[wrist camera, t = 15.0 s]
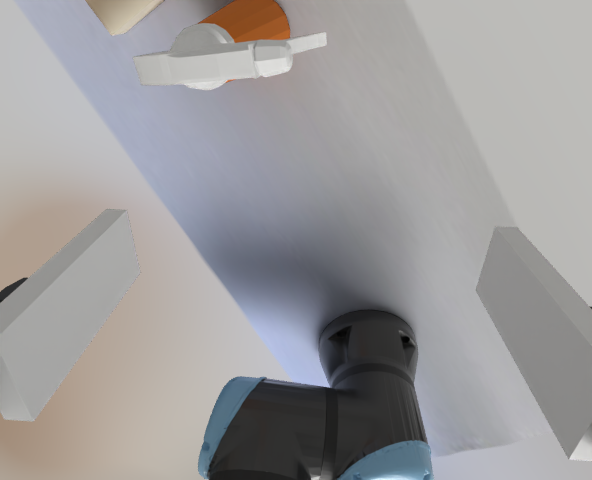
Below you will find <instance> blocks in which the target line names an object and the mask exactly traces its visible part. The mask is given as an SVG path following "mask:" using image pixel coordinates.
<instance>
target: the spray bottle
mask: <svg viewBox="0 0 592 480" xmlns="http://www.w3.org/2000/svg"><path fill="white" fill-rule="evenodd" d="M326 45H327V41H326V32H322V33H316V34H310V35H305V36H299V37H294V38H290V27H289V24H288V21H287V17H286V14H285V13H284V12H283V10H282V9H281V8H280V6H279V5H278V4H277V3H276V2H275V1H273V0H235V1H233V2H231V3H230V4H228V5H227V6H225V7H223V8H222V9H220V10H219V11H217V12H215V13H214V14H212V15H211V16H209V17H207V18H206V19H204V20H202V21H201V22H199V23H198V24H195V25H192V26H190V27H187V28H185V29H183V30H182V32H181V33H180V34H179V35H178V36H177V37H176V40H175V42H174V43H173V45H172V46H171V49H170V51H164V52H158V53H152V54H146V55H140V56H135V57H133V60H134V63H135V67H136V70H137V73H138V76H139V79H140V83H141V85H178V84H183V85H185V86H187V87H189V88H196V89H200V90H212V89H215V88H217V87H220V86H221V85H223V84H224V83H226V82H229V81H233V80H236V79H242V78H253V77H254V79H256V78H258V77H260V76H264V77H269V76H273V75H277V74H281V73H285V72H287V71H289V70H290V69H291V67H292V64H293V54H296V53H299V52H303V51H306V50H310V49H314V48H318V47H322V46H326Z"/></svg>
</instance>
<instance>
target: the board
mask: <svg viewBox="0 0 592 480" xmlns="http://www.w3.org/2000/svg"><path fill="white" fill-rule="evenodd" d="M85 1H86V2H87V3H88V5H89V6H90V7H91V9H92V10H93V11H94V13H95V14H96V15H97V17H98V18H99V19H100V21H101V22H102V23H103V25H104V26H105V27H106V29H107V30H108V31H109V33H110V34H111V35H118V34H125V33H126V32H127V31H128V30H130V29H131V28H132V27H133V26H134V25H136V24H137V23H138V22H139V21H140V20H142V19H143V18H144V17H145V16H146V15H148V14H149V13H150V12H151V11H152V10H154V9H155V8H156V7H157V6H158V5H160V4H161V3H162V2H163V1H164V0H85Z"/></svg>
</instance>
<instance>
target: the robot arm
mask: <svg viewBox="0 0 592 480" xmlns="http://www.w3.org/2000/svg"><path fill="white" fill-rule="evenodd" d="M139 274H140V268H139V263H138V259H137V254H136V250H135V245H134V240H133V236H132V231H131V226H130V222H129V217H128V212H127V210H114V209H106V210H105V211H104V212H103V213H102V214H101V215H99V216H98V217H97V218H96V219H95V220H94V221H92V222H91V223H90V224H89V225H88V226H87V227H86V228H85V229H84V230H82V231H81V232H80V233H79V234H78V235H77V236H76V237H74V239H72V240H71V241H70V242H69V243H68V244H67V245H65V246H64V247H63V248H62V249H61V250H60V251H59V252H57V254H56V255H54V256H53V257H52V258H51V259H50V260H48V261H47V262H46V263H45V264H44V265H43V266H42V267H41V268H40V269H38V270H37V271H36V272H35V273H34V274H33V275H32V276H30V277H29V278H23V279H21V280H19V281H17V282H15V283H13V284H11V285H9V286H7V287H6V288H4V289H3V290H2V291H1V292H0V412H1V414H2V416H3V418H4V419H7V420H22V421H34V420H35V419H36V417H37V416H38V415H39V413H40V412H41V410H42V409H43V407H44V406H45V405H46V403H47V402H48V401H49V399H50V398H51V396H52V395H53V394H54V392H55V391H56V390H57V388H58V387H59V385H60V384H61V383H62V381H63V380H64V378H65V377H66V376H67V374H68V373H69V371H70V370H71V369H72V367H73V366H74V364H75V363H76V361H77V360H78V359H79V358H80V356H81V355H82V353H83V352H84V351H85V349H86V348H87V346H88V345H89V344H90V342H91V341H92V339H93V338H94V336H95V335H96V334H97V332H98V331H99V330H100V328H101V327H102V326H103V324H104V323H105V321H106V320H107V318H108V317H109V316H110V314H111V313H112V312H113V310H114V309H115V307H116V306H117V305H118V303H119V302H120V300H121V299H122V298H123V296H124V295H125V293H126V292H127V291H128V289H129V288H130V287H131V285H132V284H133V282H134V281H135V280H136V278H137V277H138V275H139ZM476 292H477V294H478V295H479V297H480V299H481V301H482V303H483V304H484V306H485V308H486V310H487V312H488V314H489V315H490V317H491V319H492V321H493V323H494V324H495V326H496V328H497V330H498V332H499V334H500V335H501V337H502V339H503V341H504V343H505V344H506V346H507V348H508V350H509V352H510V354H511V355H512V357H513V359H514V361H515V363H516V364H517V366H518V368H519V370H520V372H521V374H522V375H523V377H524V379H525V381H526V383H527V384H528V386H529V388H530V390H531V392H532V394H533V395H534V397H535V399H536V401H537V403H538V405H539V406H540V408H541V410H542V412H543V414H544V415H545V417H546V419H547V421H548V423H549V425H550V426H551V428H552V430H553V432H554V434H555V435H556V437H557V439H558V441H559V443H560V444H561V446H562V448H563V450H564V452H565V454H566V455H567V457H568V459H570V460H584V461H592V307H589V306H588V305H587V304H586V302H585V301H584V300H583V299H582V298H581V297H580V296H579V295H578V293H577V292H576V291H575V290H574V289H573V288H572V287H571V286H570V285H569V284H568V283H567V281H566V280H565V279H564V278H563V277H562V276H561V275H560V274H559V273H558V272H557V270H556V269H555V268H554V267H553V266H552V265H551V264H550V263H549V262H548V260H547V259H545V257H544V256H543V255H542V254H541V253H540V252H539V251H538V250H537V248H536V247H535V246H534V245H533V244H532V243H531V242H530V241H529V240H528V239H527V237H526V236H525V235H524V234H523V233H522V232H521V231H520V230H519V229H518V228H517V227H495V228H494V231H493V235H492V238H491V241H490V245H489V248H488V251H487V254H486V258H485V261H484V264H483V268H482V271H481V274H480V277H479V281H478V284H477V287H476ZM319 357H320V362H321V365H322V368H323V370H324V373H325V375H326V378H327V380H328V383H329V385H330V388H328V387H321V386H314V385H307V384H301V383H294V382H287V381H279V380H273V379H267V378H266V377H260V378H252V377H235V378H233V379H231V380H230V381H229V382H228V383H227V384H226V385H225V386H224V388H223V389H222V391H221V393H220V395H219V397H218V399H217V401H216V403H215V406H214V408H213V411H212V414H211V416H210V419H209V423H208V425H207V428H206V432H205V436H204V443H203V445H202V449H201V452H200V456H199V462H198V471H199V474H200V475H201V476H202V477H204V479H209V480H434V475H433V470H432V463H431V450H430V446H429V445H428V442H427V438H426V434H425V429H424V425H423V421H422V417H421V413H420V409H419V404H418V400H417V396H416V392H415V388H414V379H415V373H416V366H417V360H418V347H417V343H416V339H415V336H414V333H413V331H412V330H411V328H410V327H409V326H408V325H407V324H406V323H405V322H404V321H403V320H402V319H400V318H398V317H396V316H394V315H392V314H389V313H386V312H382V311H375V310H362V311H355V312H351V313H348V314H345V315H343V316H341V317H339V318H337V319H335V320H334V321H332V322H331V323H330V324H329V325H328V326H327V327H326V328H325V330H324V331H323V333H322V335H321V338H320V342H319Z"/></svg>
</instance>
